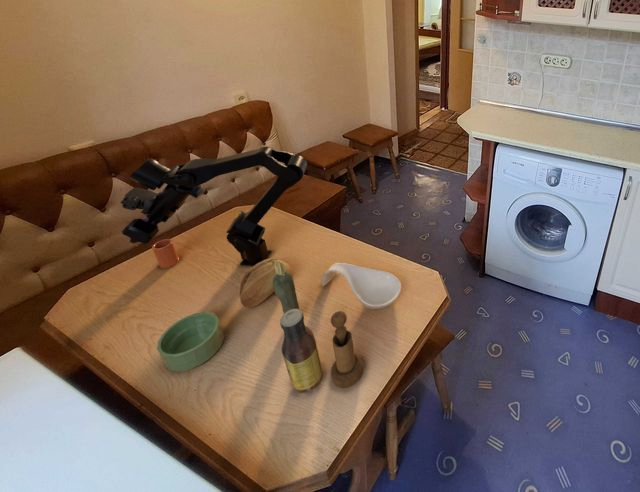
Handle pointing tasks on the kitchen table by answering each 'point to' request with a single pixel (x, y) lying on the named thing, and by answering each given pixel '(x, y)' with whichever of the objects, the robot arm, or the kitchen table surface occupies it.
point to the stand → (165, 253)
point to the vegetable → (284, 287)
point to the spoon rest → (367, 284)
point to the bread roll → (259, 282)
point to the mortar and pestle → (344, 354)
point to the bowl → (190, 341)
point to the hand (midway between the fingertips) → (139, 234)
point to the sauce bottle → (300, 352)
